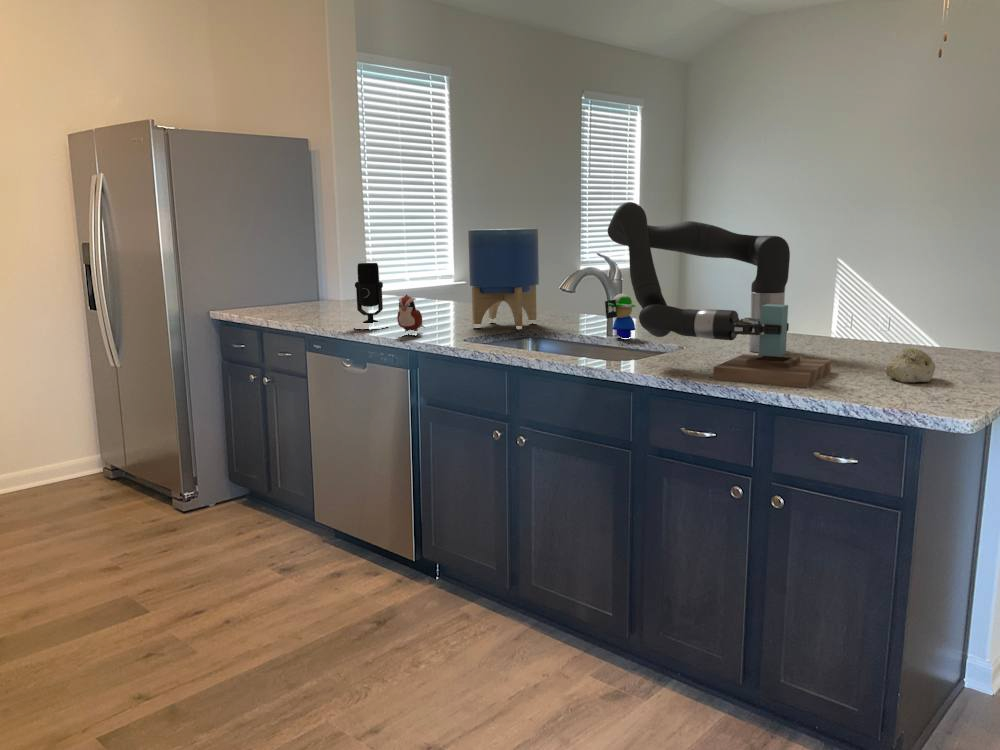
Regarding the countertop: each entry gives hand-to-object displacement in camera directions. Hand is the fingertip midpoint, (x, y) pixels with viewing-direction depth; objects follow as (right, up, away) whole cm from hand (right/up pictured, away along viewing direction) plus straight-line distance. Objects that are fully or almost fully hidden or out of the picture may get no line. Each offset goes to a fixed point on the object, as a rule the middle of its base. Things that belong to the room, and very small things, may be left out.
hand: (784, 328), depth 195 cm
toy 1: (-100, +3, +94) cm, 138 cm away
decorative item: (+28, -13, -5) cm, 31 cm away
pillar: (-2, -6, +3) cm, 7 cm away
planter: (-67, +7, +114) cm, 132 cm away
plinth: (-2, -11, +4) cm, 12 cm away
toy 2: (-28, +1, +73) cm, 78 cm away
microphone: (-119, +7, +119) cm, 169 cm away
